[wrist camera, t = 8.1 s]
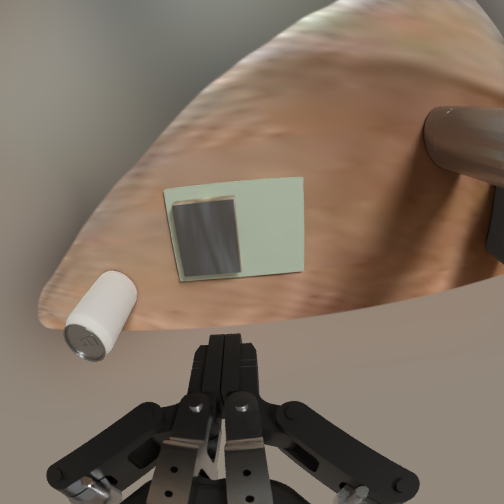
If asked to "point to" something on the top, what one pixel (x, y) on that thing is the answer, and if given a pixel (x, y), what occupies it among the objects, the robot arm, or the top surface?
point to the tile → (207, 235)
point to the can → (100, 316)
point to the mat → (255, 223)
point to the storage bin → (497, 227)
